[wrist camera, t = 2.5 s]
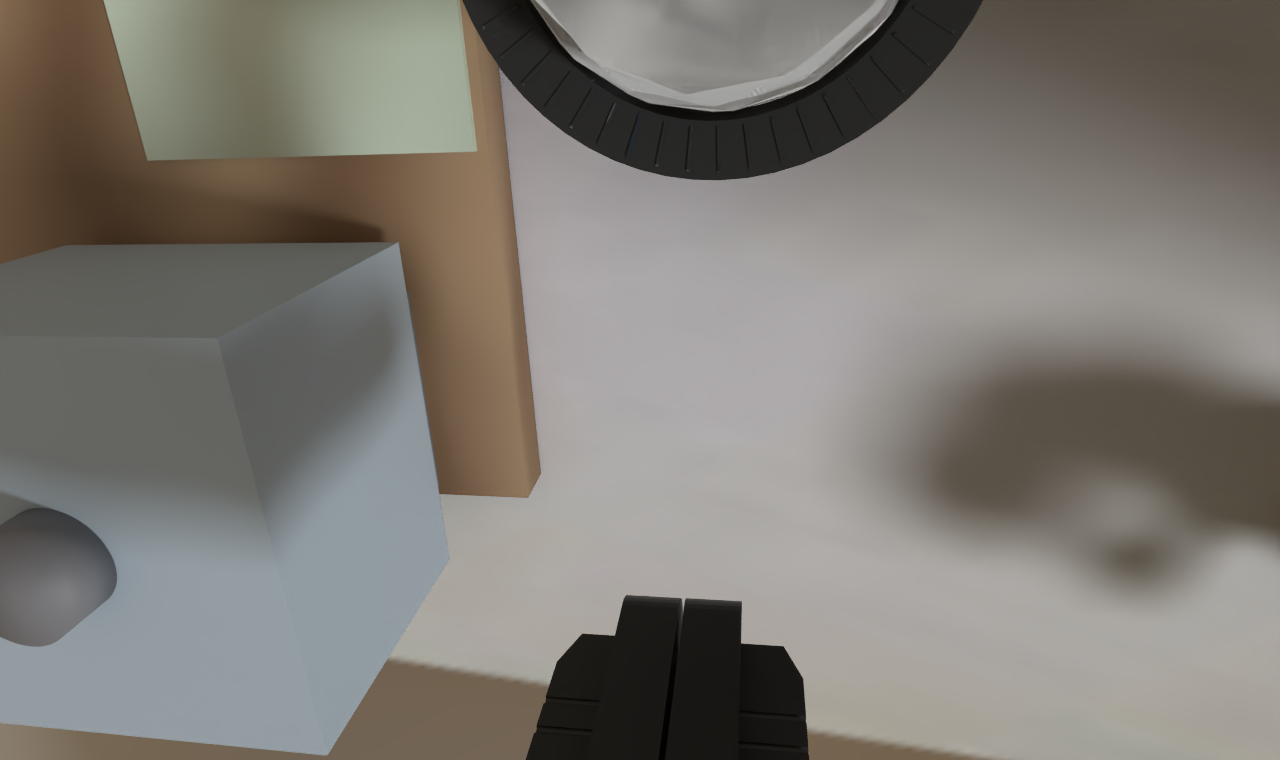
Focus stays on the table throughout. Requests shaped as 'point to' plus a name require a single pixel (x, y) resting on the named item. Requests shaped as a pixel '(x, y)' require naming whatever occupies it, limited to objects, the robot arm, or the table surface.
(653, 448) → the table surface
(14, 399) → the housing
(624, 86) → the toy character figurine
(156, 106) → the board
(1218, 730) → the table surface
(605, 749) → the robot arm
